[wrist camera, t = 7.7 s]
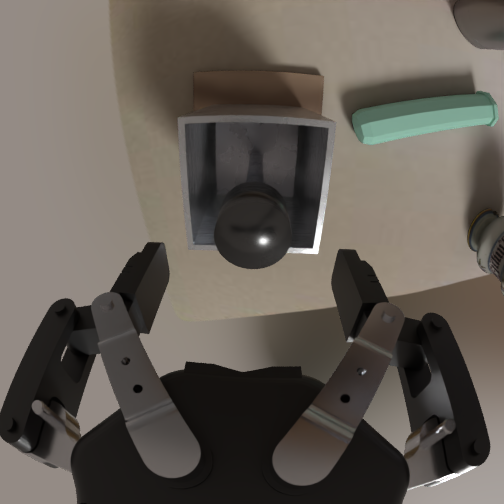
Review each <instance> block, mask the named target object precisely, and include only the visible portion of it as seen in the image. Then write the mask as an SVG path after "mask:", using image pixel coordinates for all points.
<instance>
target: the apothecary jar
mask: <svg viewBox="0 0 504 504" xmlns="http://www.w3.org/2000/svg"><path fill="white" fill-rule="evenodd" d="M468 245H469V247H470V249H471V250H473V251H475V252H477V262H478V265H479V267H480V268H481V269H482V270H483V271H484V272H486V273H490V274H494V275H495V276H496V277H497V278H498V279H499V280H500V282H501V290H502V294H503V296H504V216H501V217H499V216H498V214H497V212H496V211H495V212H494V211H492V209H485V210H483V211H482V212H480V213H479V214H478V215H477V216H476V218H475V219H474V220H473V222H472V224H471V226H470V229H469V232H468Z"/></svg>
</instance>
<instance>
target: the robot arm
mask: <svg viewBox="0 0 504 504" xmlns="http://www.w3.org/2000/svg"><path fill="white" fill-rule="evenodd" d="M454 16H455V20H456V22H457V25H458V27H459V29H460V31H461V32H462V34H463V35H464V37H465V38H466V39H467V40H468V41H469V42H470V43H471V44H472V45H474V46H475V47H477V48H480V49H490V50H491V49H495V50H504V0H458V1H457V2H456V4H455V6H454ZM169 274H170V273H169V266H168V260H167V255H166V249H165V245H164V243H159V242H148V243H147V244H146V245H145V247H144V249H143V251H142V252H137V253H136V254H135V255H134V256H132V257H131V258H130V259H129V260H128V262H127V264H126V265H125V267H124V269H123V270H122V273H120V275H119V277H118V278H117V280H116V282H115V284H114V286H113V287H112V289H111V290H110V292H107V293H104V294H101V295H99V296H98V297H97V298H96V299H95V300H94V301H93V302H92V305H90V306H84V307H76V306H75V304H74V302H73V301H72V300H71V299H66V298H65V299H60V300H58V301H56V302H55V303H54V304H53V305H51V307H50V308H49V310H48V312H47V313H46V315H45V317H44V318H43V320H42V322H41V324H40V326H39V327H38V329H37V331H36V333H35V335H34V337H33V339H32V341H31V342H30V345H29V346H28V349H27V351H26V352H25V355H24V357H23V359H22V361H21V363H20V365H19V367H18V370H17V372H16V374H15V377H14V379H13V381H12V383H11V386H10V388H9V391H8V393H7V396H6V399H5V401H4V404H3V407H2V409H1V412H0V436H1V437H2V439H3V440H5V441H6V442H7V443H9V444H10V445H12V446H14V447H15V448H17V449H18V450H19V451H20V452H22V453H24V454H26V455H27V456H29V457H31V458H33V459H34V460H36V461H38V462H42V463H44V464H45V465H47V466H49V467H52V468H58V467H60V468H62V469H64V470H67V471H69V472H72V475H73V479H74V483H75V487H76V494H77V504H402V502H403V499H404V497H405V494H406V492H407V490H408V489H412V488H415V487H419V486H422V485H424V486H427V487H431V486H434V485H437V484H440V483H442V482H445V481H447V480H449V479H452V478H454V477H456V476H458V475H461V474H463V473H465V472H467V471H469V470H471V469H473V468H475V467H477V466H479V465H481V464H482V463H484V462H485V460H486V459H487V457H488V455H489V452H490V440H489V436H488V432H487V428H486V424H485V421H484V417H483V413H482V410H481V407H480V403H479V400H478V397H477V394H476V391H475V388H474V385H473V382H472V379H471V377H470V374H469V371H468V369H467V366H466V364H465V361H464V359H463V356H462V354H461V352H460V349H459V347H458V344H457V342H456V340H455V338H454V335H453V333H452V331H451V329H450V327H449V325H448V323H447V321H446V320H445V319H444V318H443V317H442V316H440V315H438V314H436V313H427V314H425V315H424V316H423V318H422V320H421V321H419V320H414V319H410V318H406V317H404V314H403V312H402V311H401V310H400V308H399V307H397V306H396V305H394V304H391V303H389V301H388V299H387V297H386V295H385V293H384V290H383V288H382V286H381V284H380V283H379V280H378V278H377V276H376V274H375V272H374V270H373V268H372V267H371V266H370V265H369V264H368V263H367V262H366V261H361V260H360V258H359V256H358V254H357V252H356V250H351V249H339V250H338V253H337V257H336V261H335V266H334V270H333V274H332V281H331V284H332V290H333V294H334V297H335V301H336V304H337V308H338V312H339V315H340V319H341V323H342V327H343V331H344V334H345V338H346V342H353V343H352V344H351V346H350V348H349V349H348V351H347V352H346V354H345V356H344V357H343V359H342V360H341V362H340V363H339V365H338V367H337V368H336V370H335V371H334V373H333V374H332V376H331V377H330V378H329V380H328V382H327V383H326V384H324V383H322V382H321V381H319V380H317V379H315V378H312V377H309V376H306V375H302V372H301V367H300V366H299V367H268V368H264V369H258V370H253V371H247V372H240V371H236V370H232V369H228V368H225V367H222V366H219V365H215V364H206V363H195V362H186V364H185V369H184V370H178V371H174V372H171V373H168V374H166V375H164V376H162V377H160V378H159V377H158V375H157V373H156V371H155V369H154V367H153V365H152V363H151V361H150V359H149V357H148V355H147V353H146V351H145V349H144V347H143V345H142V343H141V341H140V338H139V335H140V333H145V334H149V333H150V330H151V327H152V324H153V321H154V319H155V316H156V313H157V311H158V308H159V305H160V303H161V300H162V297H163V295H164V292H165V290H166V287H167V284H168V282H169ZM66 346H67V350H66V352H65V355H64V357H63V359H62V361H61V356H62V354H63V351H64V349H65V347H66ZM100 353H101V357H102V360H103V363H104V366H105V369H106V372H107V374H108V377H109V380H110V383H111V386H112V388H113V391H114V394H115V396H116V399H117V401H118V404H119V406H120V409H118V410H117V411H116V412H114V413H113V414H112V415H111V416H109V417H108V418H106V419H105V420H104V421H102V422H101V423H100V424H98V425H97V426H96V427H94V428H93V429H92V430H90V431H89V432H88V433H86V434H85V435H84V436H82V437H81V434H80V426H79V423H78V421H77V419H76V416H77V412H78V409H79V405H80V402H81V399H82V395H83V392H84V389H85V386H86V383H87V380H88V377H89V374H90V371H91V368H92V365H93V363H94V360H95V357H96V354H100ZM428 364H429V366H428ZM389 365H391V366H397V368H398V372H399V376H400V380H401V384H402V388H403V393H404V397H405V402H406V406H407V411H408V415H409V421H410V427H411V432H412V433H411V434H410V435H409V436H408V438H407V440H406V443H405V451H404V456H403V455H402V454H401V453H400V452H399V451H398V450H397V449H396V448H395V447H394V446H393V445H392V444H390V443H389V442H388V441H387V440H386V439H385V438H384V437H382V436H381V435H380V434H379V433H378V432H377V431H376V430H375V429H374V428H372V427H371V426H370V425H369V424H368V423H367V422H366V421H365V420H364V419H363V416H364V414H365V412H366V410H367V409H368V407H369V405H370V403H371V401H372V399H373V397H374V395H375V393H376V391H377V389H378V387H379V385H380V383H381V381H382V379H383V377H384V375H385V372H386V370H387V368H388V366H389ZM429 367H430V369H429ZM430 370H431V372H430Z"/></svg>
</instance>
